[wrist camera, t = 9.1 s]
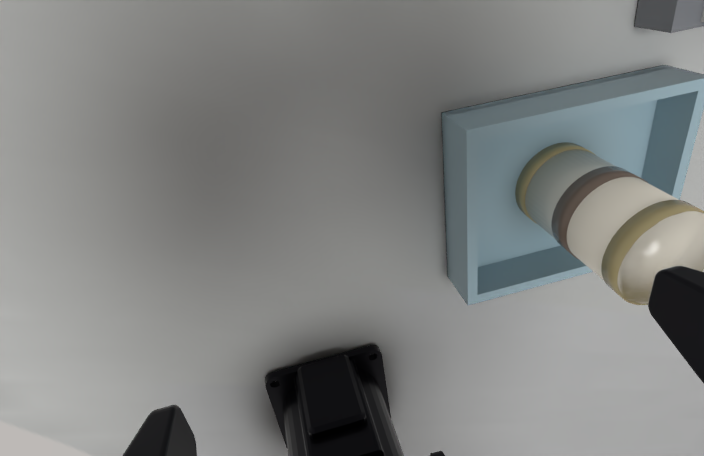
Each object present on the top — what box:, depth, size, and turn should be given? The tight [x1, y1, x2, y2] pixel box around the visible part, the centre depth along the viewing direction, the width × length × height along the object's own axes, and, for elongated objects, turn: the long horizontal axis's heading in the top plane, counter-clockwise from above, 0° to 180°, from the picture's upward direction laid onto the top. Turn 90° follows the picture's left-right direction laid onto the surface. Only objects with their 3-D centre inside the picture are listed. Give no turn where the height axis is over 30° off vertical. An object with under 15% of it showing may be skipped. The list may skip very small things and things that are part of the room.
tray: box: [442, 65, 704, 305], centre depth 22 cm, size 9×11×2 cm
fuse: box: [515, 142, 704, 305], centre depth 20 cm, size 4×4×7 cm
